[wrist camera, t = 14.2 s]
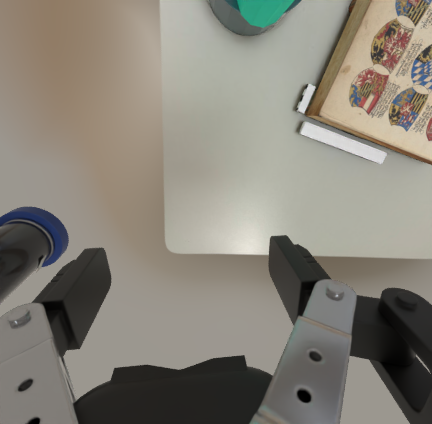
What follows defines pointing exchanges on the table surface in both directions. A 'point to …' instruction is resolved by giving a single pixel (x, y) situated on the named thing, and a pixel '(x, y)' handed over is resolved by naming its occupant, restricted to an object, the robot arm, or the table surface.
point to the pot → (235, 19)
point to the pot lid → (233, 4)
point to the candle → (263, 11)
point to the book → (377, 82)
